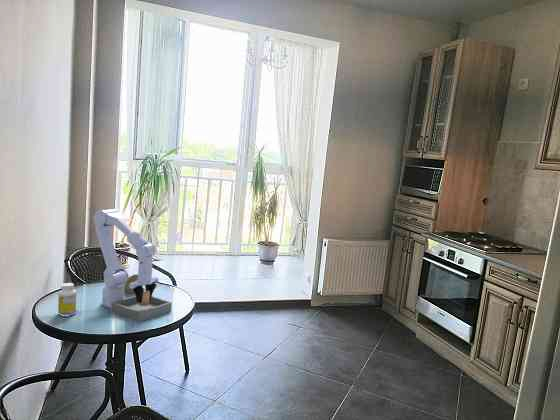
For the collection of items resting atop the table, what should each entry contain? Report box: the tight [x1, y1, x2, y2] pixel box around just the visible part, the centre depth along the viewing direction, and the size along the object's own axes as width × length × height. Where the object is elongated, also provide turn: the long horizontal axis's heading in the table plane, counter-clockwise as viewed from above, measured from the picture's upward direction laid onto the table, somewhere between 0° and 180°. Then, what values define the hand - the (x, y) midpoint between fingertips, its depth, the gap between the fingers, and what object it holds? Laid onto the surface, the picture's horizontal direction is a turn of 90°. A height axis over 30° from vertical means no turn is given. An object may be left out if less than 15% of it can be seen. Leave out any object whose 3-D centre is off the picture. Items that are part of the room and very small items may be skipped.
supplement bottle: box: [57, 282, 77, 316], centre depth 174 cm, size 7×7×13 cm
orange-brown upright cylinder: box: [138, 288, 150, 306], centre depth 183 cm, size 5×5×6 cm
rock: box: [124, 274, 144, 295], centre depth 208 cm, size 11×9×10 cm
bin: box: [110, 295, 173, 323], centre depth 184 cm, size 18×18×4 cm
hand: (143, 300), depth 183 cm, fingers closed on orange-brown upright cylinder, 4 cm apart
